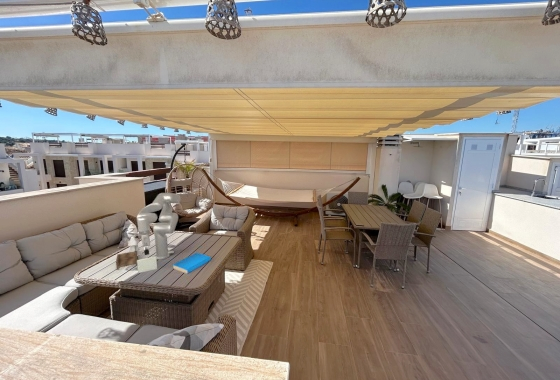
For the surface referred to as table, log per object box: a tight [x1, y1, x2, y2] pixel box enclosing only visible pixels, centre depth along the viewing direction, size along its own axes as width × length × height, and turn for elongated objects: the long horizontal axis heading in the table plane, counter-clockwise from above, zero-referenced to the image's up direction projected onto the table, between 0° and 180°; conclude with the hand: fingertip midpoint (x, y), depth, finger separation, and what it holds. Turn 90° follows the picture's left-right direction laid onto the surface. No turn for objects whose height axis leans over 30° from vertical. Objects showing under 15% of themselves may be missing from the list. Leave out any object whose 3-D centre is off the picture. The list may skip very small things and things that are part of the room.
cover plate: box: [136, 255, 158, 274], centre depth 178 cm, size 13×2×10 cm, turn 122°
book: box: [172, 252, 212, 274], centre depth 189 cm, size 17×4×25 cm
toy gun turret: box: [125, 234, 144, 256], centre depth 202 cm, size 12×13×18 cm
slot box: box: [115, 251, 139, 271], centre depth 187 cm, size 14×15×7 cm
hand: (146, 252), depth 177 cm, fingers open, 9 cm apart
